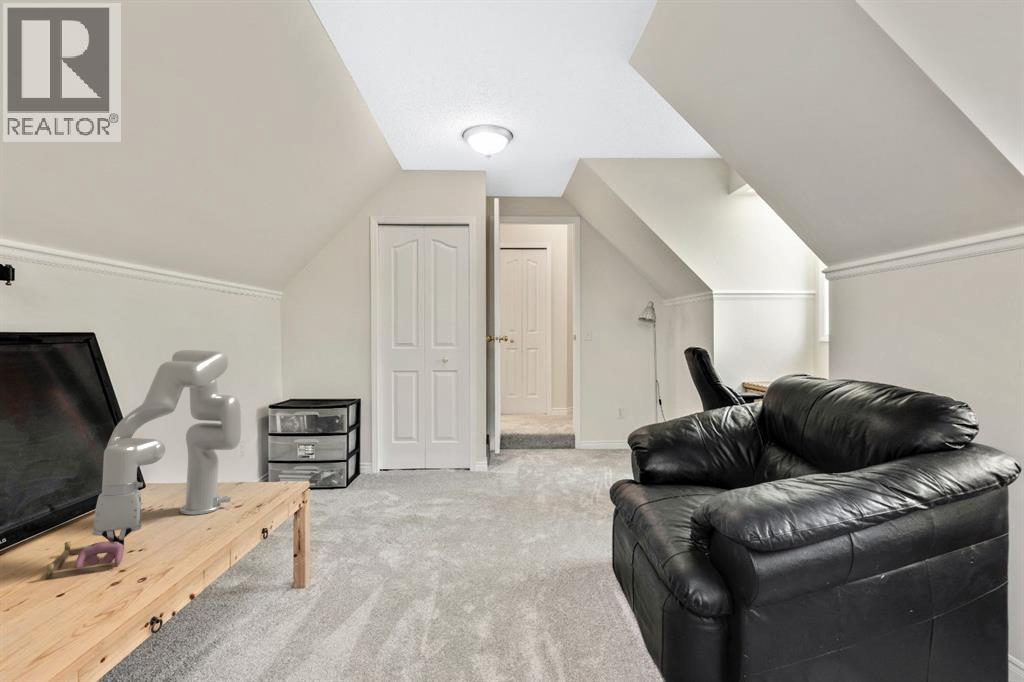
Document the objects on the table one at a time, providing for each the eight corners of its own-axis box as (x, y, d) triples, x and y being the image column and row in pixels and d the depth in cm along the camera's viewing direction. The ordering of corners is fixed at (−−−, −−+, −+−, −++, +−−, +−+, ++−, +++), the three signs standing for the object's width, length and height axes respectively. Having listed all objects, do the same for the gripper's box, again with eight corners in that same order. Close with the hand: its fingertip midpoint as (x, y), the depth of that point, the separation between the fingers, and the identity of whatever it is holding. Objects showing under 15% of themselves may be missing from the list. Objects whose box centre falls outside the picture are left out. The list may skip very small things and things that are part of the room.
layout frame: (123, 546, 142) (124, 534, 142) (112, 569, 128) (113, 556, 128) (64, 554, 135) (65, 542, 135) (45, 579, 121) (46, 566, 121)
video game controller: (123, 566, 133) (127, 539, 136) (119, 565, 129) (123, 537, 132) (76, 572, 128) (82, 545, 131) (71, 571, 125) (77, 543, 128)
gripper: (153, 481, 142) (150, 543, 142) (88, 487, 135) (85, 552, 135) (150, 489, 136) (147, 553, 136) (81, 495, 128) (77, 563, 128)
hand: (116, 552), depth 135 cm, fingers closed
